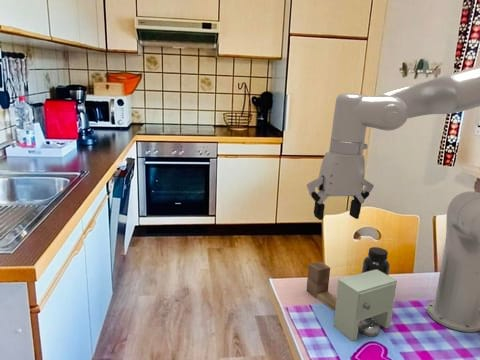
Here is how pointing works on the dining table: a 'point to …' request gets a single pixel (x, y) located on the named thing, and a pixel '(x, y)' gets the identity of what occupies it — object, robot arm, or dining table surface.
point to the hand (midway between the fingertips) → (336, 217)
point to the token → (368, 328)
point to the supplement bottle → (376, 261)
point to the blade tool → (320, 284)
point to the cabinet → (364, 301)
